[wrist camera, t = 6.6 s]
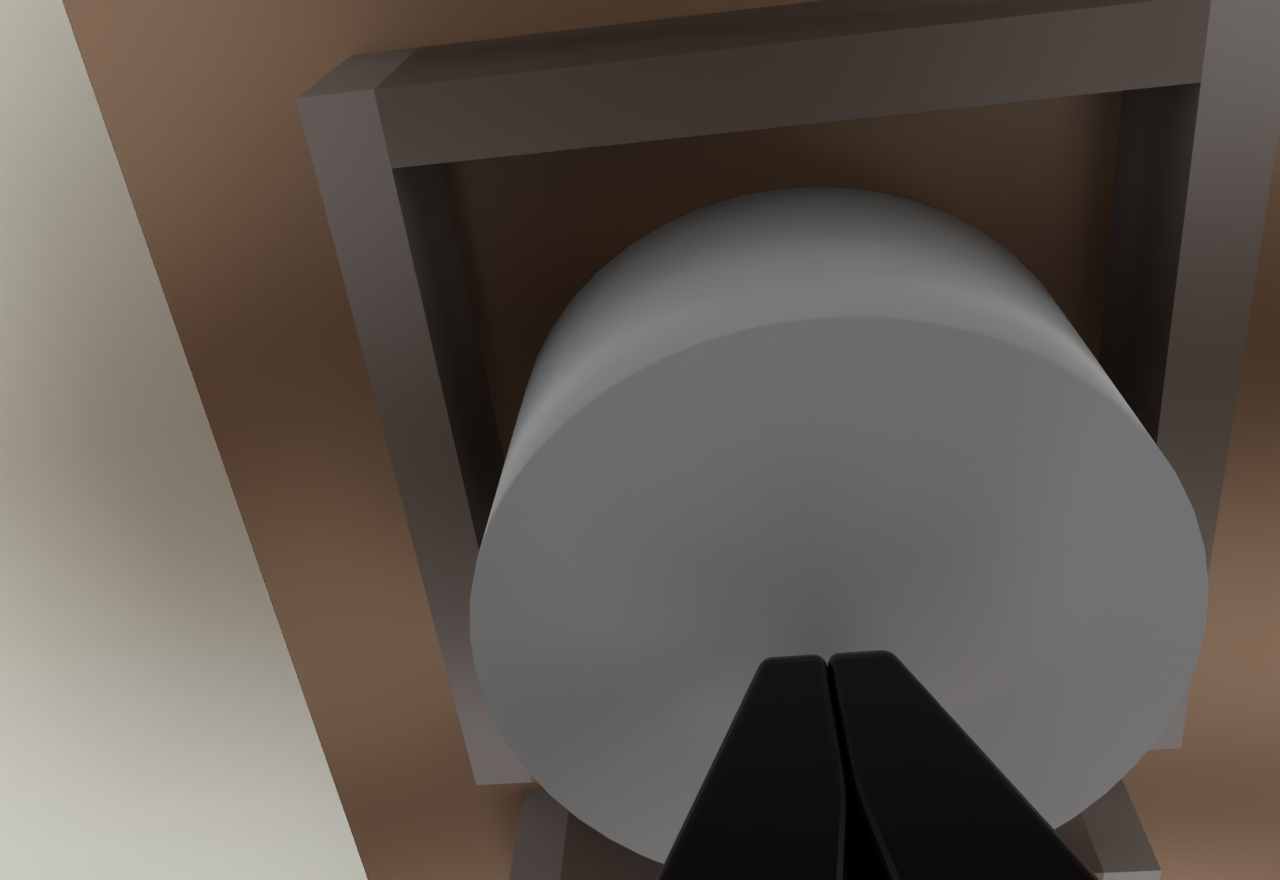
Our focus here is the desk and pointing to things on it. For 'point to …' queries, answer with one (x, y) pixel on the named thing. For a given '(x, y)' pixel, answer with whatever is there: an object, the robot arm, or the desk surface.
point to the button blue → (826, 509)
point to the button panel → (605, 226)
